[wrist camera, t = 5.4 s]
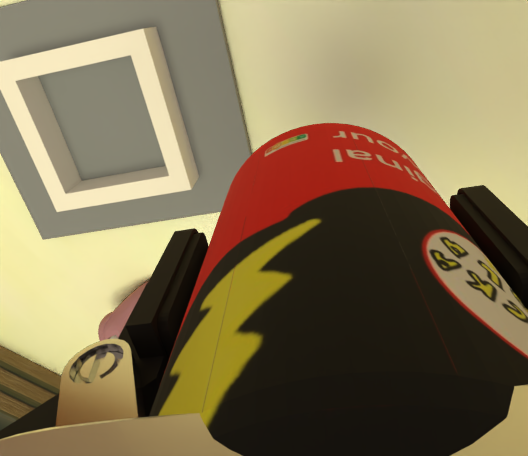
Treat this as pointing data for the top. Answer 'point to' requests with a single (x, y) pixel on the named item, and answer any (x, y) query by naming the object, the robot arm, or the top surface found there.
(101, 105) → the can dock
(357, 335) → the beverage can
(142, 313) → the robot arm
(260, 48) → the top surface
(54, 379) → the dark grey slab stack
